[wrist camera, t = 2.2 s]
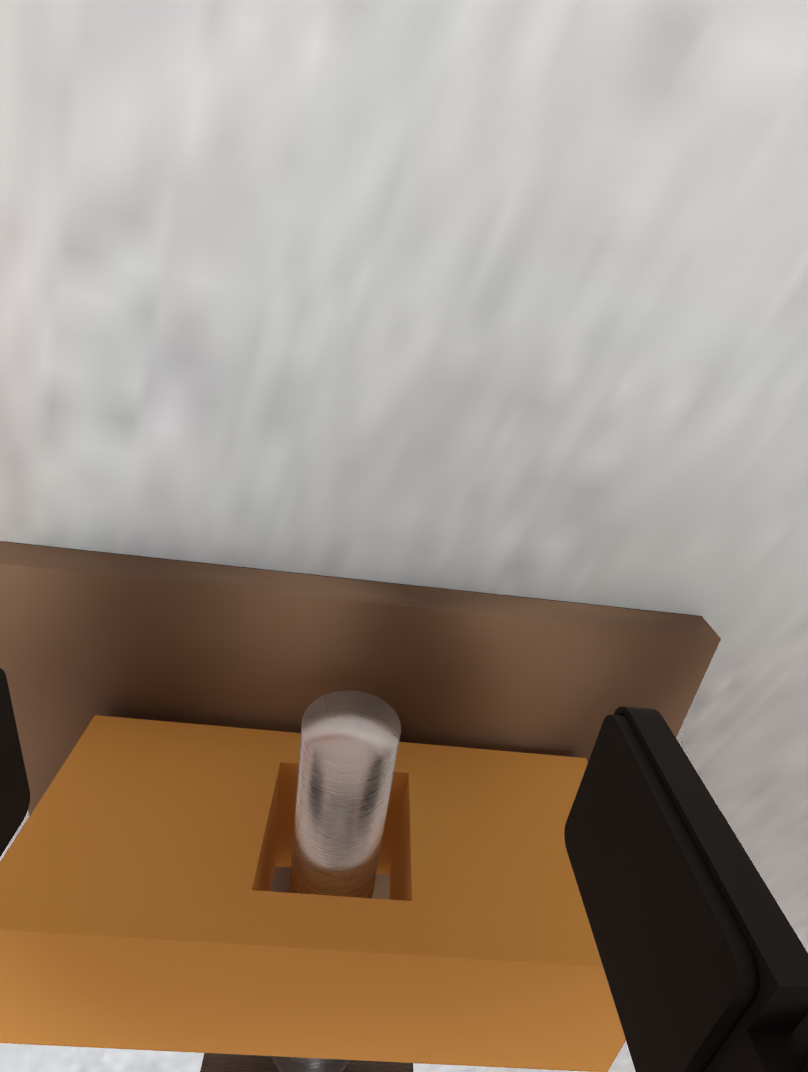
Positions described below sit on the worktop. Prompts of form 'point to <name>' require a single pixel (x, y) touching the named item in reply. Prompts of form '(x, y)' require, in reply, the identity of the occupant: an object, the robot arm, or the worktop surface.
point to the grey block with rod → (336, 831)
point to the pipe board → (321, 656)
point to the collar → (299, 910)
